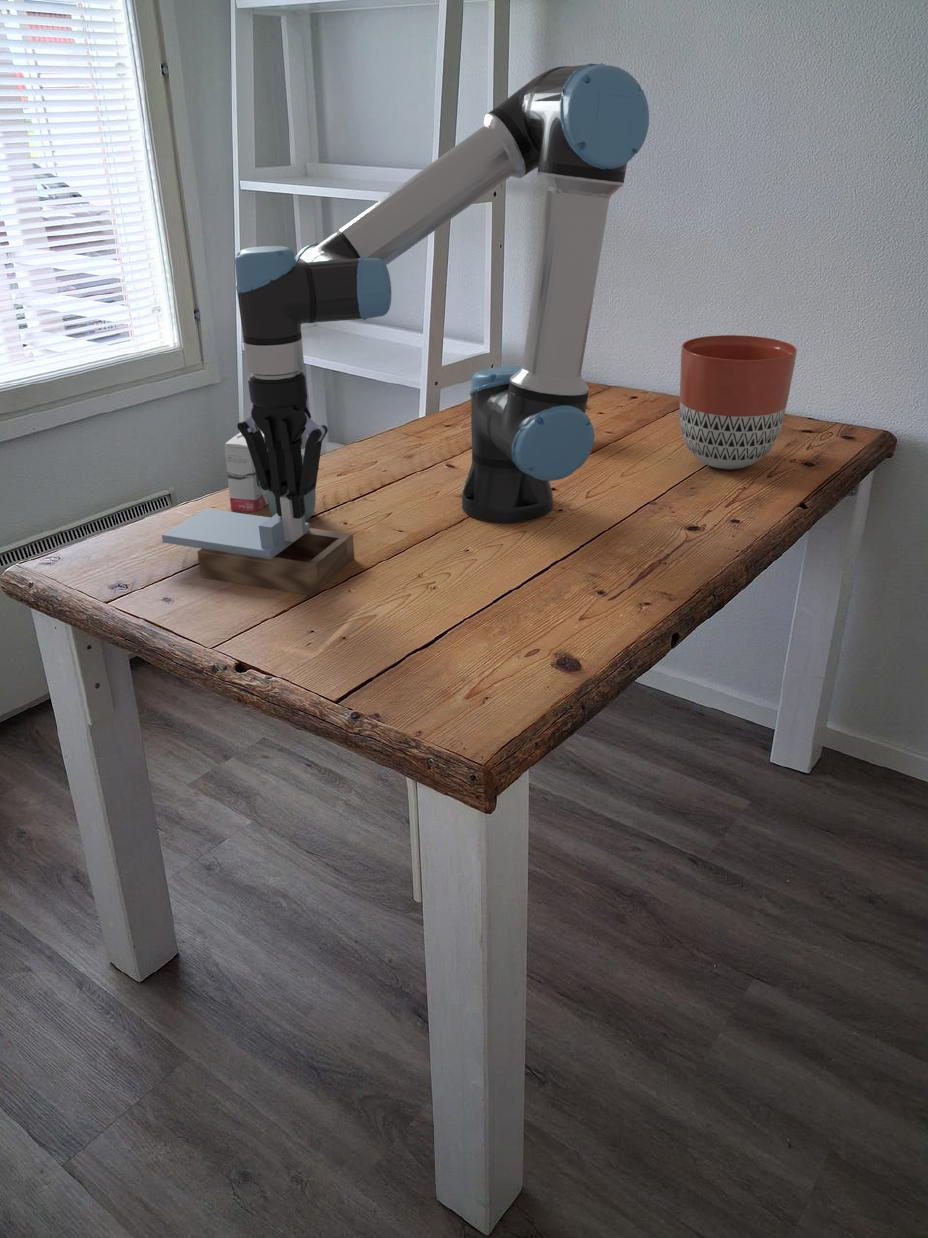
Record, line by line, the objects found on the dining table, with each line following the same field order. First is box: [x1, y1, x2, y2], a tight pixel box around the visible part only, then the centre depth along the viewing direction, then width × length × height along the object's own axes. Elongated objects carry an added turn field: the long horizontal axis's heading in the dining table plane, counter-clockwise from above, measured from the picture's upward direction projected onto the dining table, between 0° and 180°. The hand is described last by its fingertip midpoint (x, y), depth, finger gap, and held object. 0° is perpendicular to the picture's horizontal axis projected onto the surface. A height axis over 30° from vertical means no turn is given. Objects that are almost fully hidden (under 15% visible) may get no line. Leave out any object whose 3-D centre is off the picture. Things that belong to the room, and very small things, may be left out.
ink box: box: [224, 430, 268, 513], centre depth 168 cm, size 9×5×12 cm, turn 168°
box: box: [197, 527, 355, 597], centre depth 145 cm, size 18×13×4 cm
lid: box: [161, 507, 310, 559], centre depth 146 cm, size 18×11×4 cm, turn 69°
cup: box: [266, 454, 317, 522], centre depth 161 cm, size 8×8×10 cm
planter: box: [679, 334, 798, 470], centre depth 179 cm, size 20×20×21 cm
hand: (293, 537), depth 143 cm, fingers closed
